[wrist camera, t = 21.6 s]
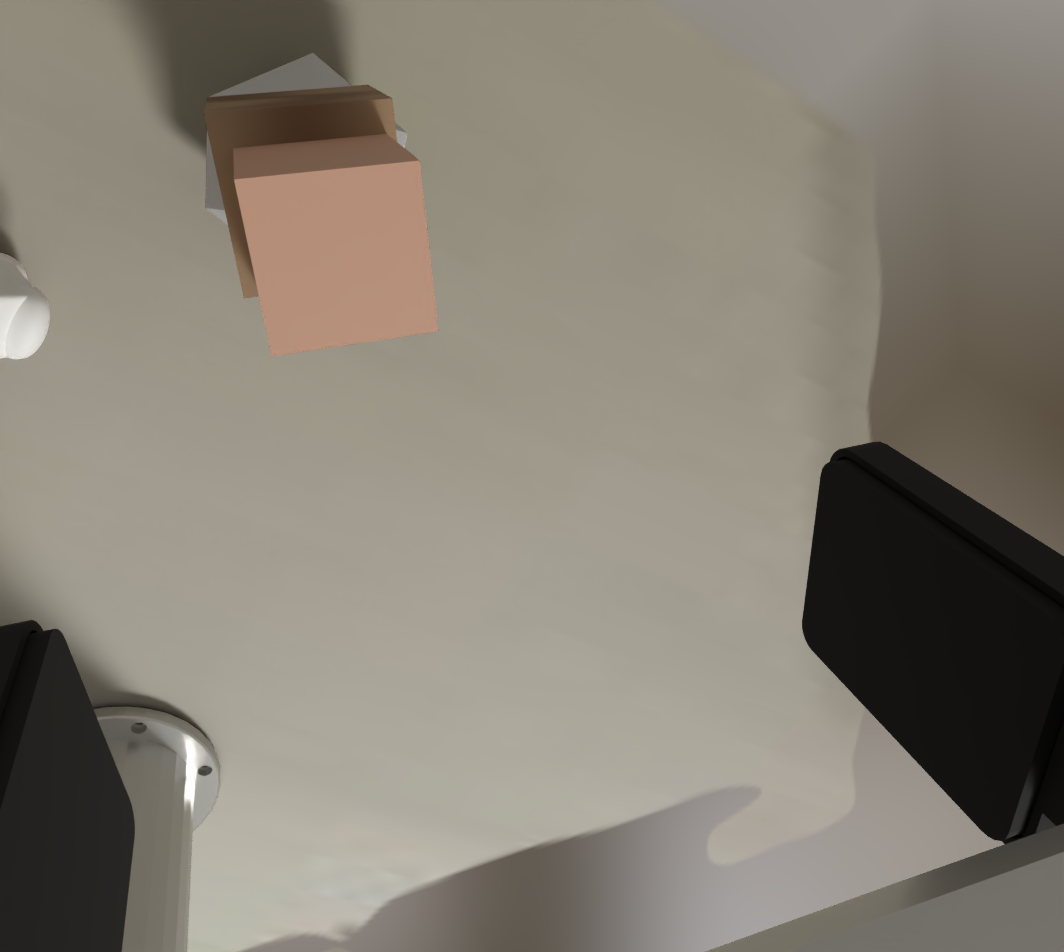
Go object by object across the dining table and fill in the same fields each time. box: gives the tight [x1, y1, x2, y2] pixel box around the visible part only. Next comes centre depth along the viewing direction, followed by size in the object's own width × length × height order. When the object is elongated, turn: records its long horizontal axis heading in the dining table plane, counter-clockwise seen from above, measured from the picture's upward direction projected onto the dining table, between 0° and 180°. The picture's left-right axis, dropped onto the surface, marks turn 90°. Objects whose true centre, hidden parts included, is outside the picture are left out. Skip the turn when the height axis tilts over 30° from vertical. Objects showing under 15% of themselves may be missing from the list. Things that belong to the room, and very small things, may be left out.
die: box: [205, 53, 407, 225], centre depth 38 cm, size 8×9×10 cm
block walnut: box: [204, 85, 397, 298], centre depth 32 cm, size 6×6×6 cm
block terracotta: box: [233, 134, 438, 356], centre depth 27 cm, size 5×5×6 cm
